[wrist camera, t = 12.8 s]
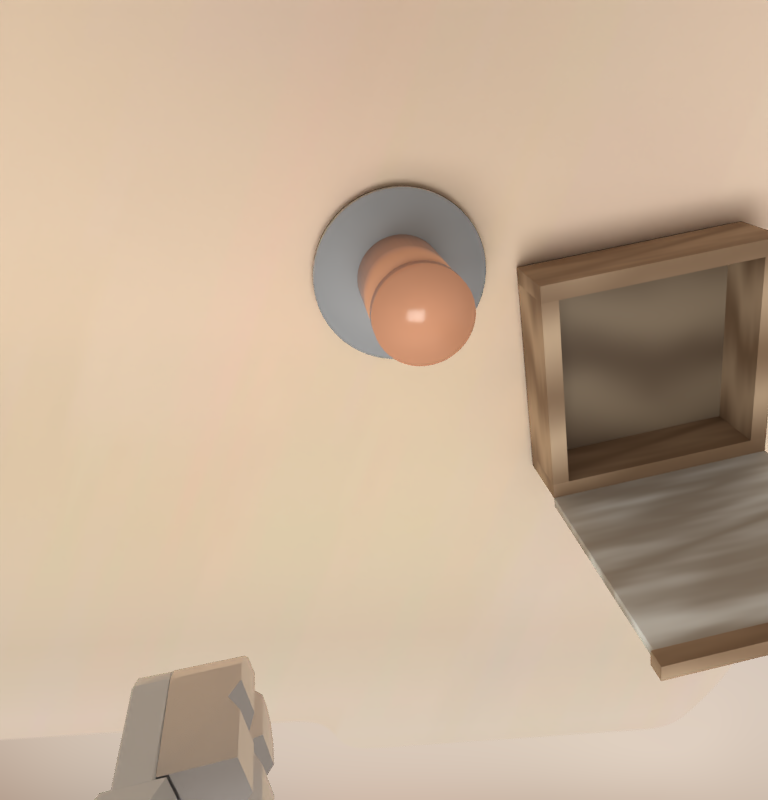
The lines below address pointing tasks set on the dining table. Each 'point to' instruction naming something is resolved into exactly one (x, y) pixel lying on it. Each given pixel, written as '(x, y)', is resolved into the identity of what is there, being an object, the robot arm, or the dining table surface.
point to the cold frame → (660, 431)
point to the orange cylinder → (415, 301)
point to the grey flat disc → (373, 223)
